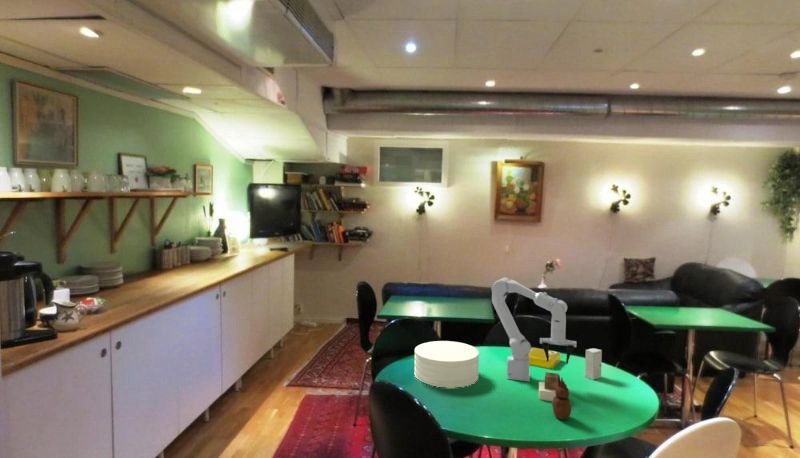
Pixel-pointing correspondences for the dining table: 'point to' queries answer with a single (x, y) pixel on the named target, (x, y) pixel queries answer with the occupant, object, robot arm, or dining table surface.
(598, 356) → the skincare box
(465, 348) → the plate stack
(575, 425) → the dining table surface
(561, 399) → the wooden figurine
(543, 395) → the cream base block
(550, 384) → the walnut cube
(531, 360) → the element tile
